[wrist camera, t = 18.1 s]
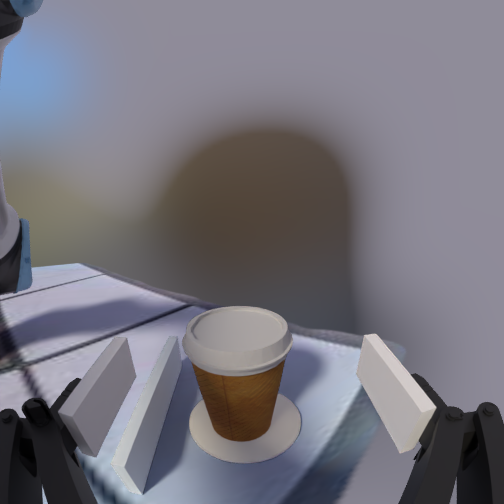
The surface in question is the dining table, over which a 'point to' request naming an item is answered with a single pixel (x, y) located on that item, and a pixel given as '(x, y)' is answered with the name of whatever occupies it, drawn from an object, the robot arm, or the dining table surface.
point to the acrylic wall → (148, 420)
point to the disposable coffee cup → (238, 367)
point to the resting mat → (253, 451)
